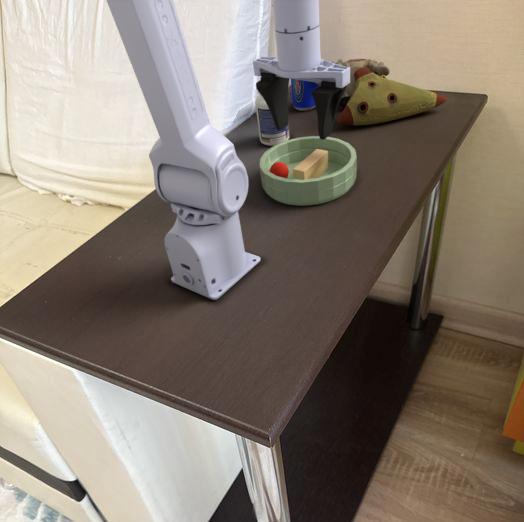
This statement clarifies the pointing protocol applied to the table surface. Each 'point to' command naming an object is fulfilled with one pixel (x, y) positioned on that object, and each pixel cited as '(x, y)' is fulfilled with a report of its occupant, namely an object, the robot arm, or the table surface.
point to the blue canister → (303, 94)
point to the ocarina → (384, 100)
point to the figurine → (354, 65)
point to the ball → (279, 169)
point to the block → (312, 166)
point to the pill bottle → (268, 125)
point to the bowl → (309, 190)
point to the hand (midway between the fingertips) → (303, 132)
